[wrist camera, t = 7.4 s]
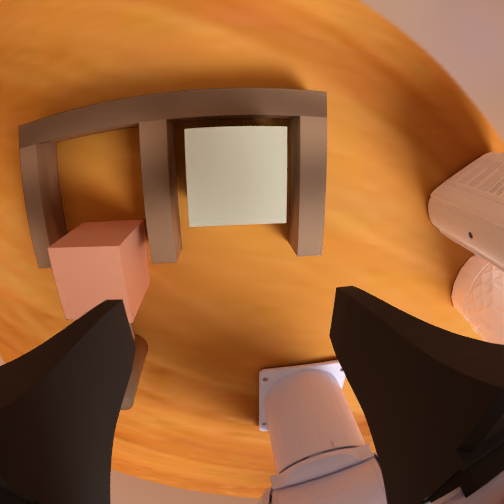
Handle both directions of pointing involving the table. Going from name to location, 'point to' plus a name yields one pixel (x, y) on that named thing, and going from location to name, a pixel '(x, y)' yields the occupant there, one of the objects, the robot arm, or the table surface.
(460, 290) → the white cup
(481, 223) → the photo printer
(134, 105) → the lane rack
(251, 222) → the plain block
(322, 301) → the table surface
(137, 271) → the tethered block
